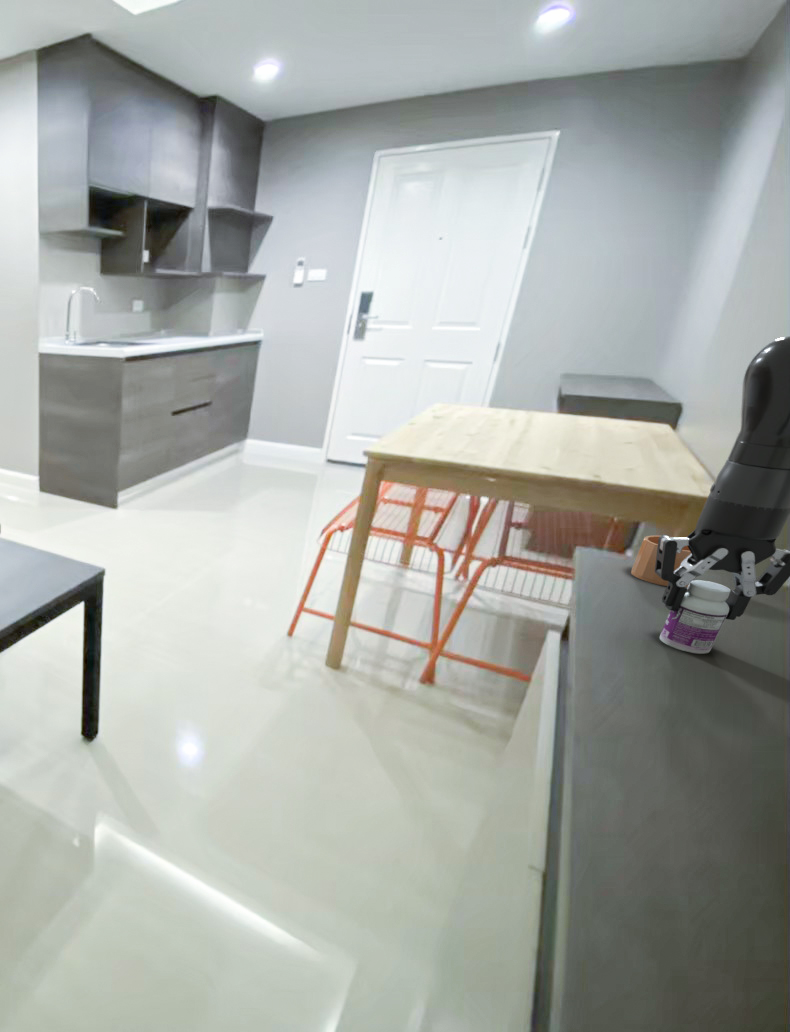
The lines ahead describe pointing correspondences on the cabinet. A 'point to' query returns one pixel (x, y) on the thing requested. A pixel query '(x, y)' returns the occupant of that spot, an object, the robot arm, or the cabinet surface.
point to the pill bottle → (697, 618)
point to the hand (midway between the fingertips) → (698, 612)
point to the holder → (653, 561)
